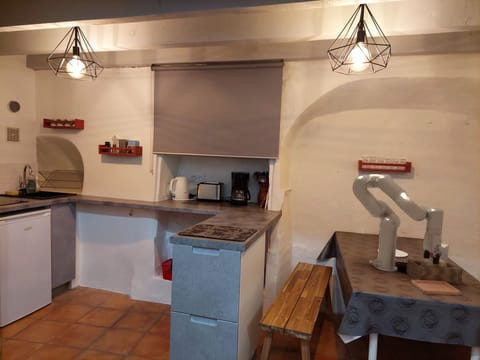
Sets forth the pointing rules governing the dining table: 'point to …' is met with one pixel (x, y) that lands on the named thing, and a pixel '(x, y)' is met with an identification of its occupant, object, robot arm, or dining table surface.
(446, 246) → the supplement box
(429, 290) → the terracotta tray
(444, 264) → the maple block
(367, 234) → the dining table surface
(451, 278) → the walnut pocket jig
